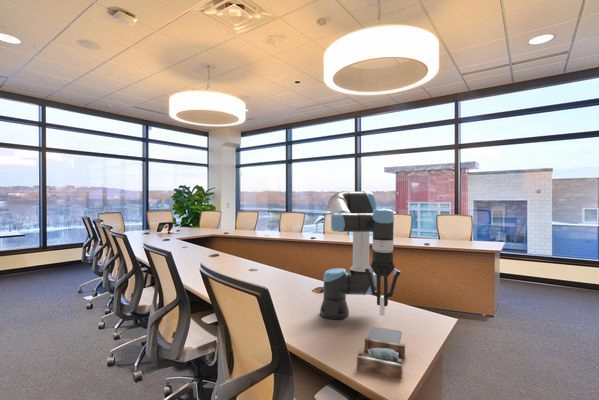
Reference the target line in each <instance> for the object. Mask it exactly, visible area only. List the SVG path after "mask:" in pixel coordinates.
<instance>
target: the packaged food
mask: <svg viewBox="0 0 599 400" xmlns="http://www.w3.org/2000/svg"><path fill="white" fill-rule="evenodd" d="M367 350H368V349H367ZM367 353H368V355H369V358H374V359H379V360H384V361H389V362H394V363H398V359H400V358H399V356H398V355H399V353H397V352H396V351H394V350H393V349H388V348H373V349H369V350H368V352H367ZM402 366H404V364H403V363H402Z"/></svg>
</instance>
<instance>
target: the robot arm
mask: <svg viewBox="0 0 599 400" xmlns="http://www.w3.org/2000/svg"><path fill="white" fill-rule="evenodd" d="M327 203H328V204H327V207H328V211H330V213H332V214H331V216H330V227H331V228H330V230H331V231H332V232H336V233H338V232H339V233H348V232H349V233H351V232H352V265H351V266H350V267H349V271H347V270H346V269H345V268H342V267H341V268H340V267H337V268H329V269H328V270H325V272H324V273H323V279H322V281H323V299H322V302H321V306H320V308H319V309H320V310H319V313H320V316H322V317H324V318H326V319H329V320H331V319H332V320H341V319H346V318H348V317H349V316H350V309H349V306H348V303H347V295H351V296H352V295H356V296H357V295H359V296H360V295H362V296H366V295H367V296H369V295H373V296H376V305H377V306H379V316H383V317H384V316H385V314H386V307H388V304H389V298H390V297H391V298H392V297H393V295H394V293H395V292H394V291H395V287H396V285H397V280H398V278H399V276H400V275H401V270H400V269H397V268H396V267H395V264H394V252H393V250H394V224H395V223H394V222H395V217H394V210H392V209H387V208H386V209H383V208H382V209H379V208H378V209H377V201H376V197H375V195H374V193H373V192H371V191H362V190H361V191H359V190H358V191H354V190H353V191H345V190H343V191H340V192H337V193H335V194H333V195H332V196H331V197H330V198H329V200H328V202H327ZM370 233H372V247H371V248H372V250H373V251H372V254H371V255H372V262H371V264H370ZM391 274H393V278H392V282H391V285H390V286H391V287H390V289H389V276H390V275H391ZM382 277H383V295H382Z"/></svg>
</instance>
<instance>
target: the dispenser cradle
mask: <svg viewBox="0 0 599 400" xmlns="http://www.w3.org/2000/svg"><path fill="white" fill-rule="evenodd" d="M373 348H388V349H393V350H394V351H396V352H397V353H399V355H398V357H400V358H399V359H398V363H394V362H389V361H384V360H379V359H374V358H371V357H370V356H369V357H368V356H363V355H364V354H363V353H364V352H365V353H368V350H369V349H373ZM367 349H368V350H367ZM364 352H363V351H360V350H359V351H358V353H357V357H356V369H357V370H359V371H364V372H367V373H368V372H369V373H373V374H378V375H381V376H386V377H387V376H388V377H391V378H396V379H402V377H403V365H402V364H403V360H406V358H405V357H406V344H405V343H399V344H397V343H392V342H386V341H380V340H375V339H369V338H368V336H365V337H364Z"/></svg>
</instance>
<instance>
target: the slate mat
mask: <svg viewBox="0 0 599 400" xmlns="http://www.w3.org/2000/svg"><path fill="white" fill-rule="evenodd" d="M401 335H402V330H398V329H390V328H383V327H379V326H372V327H371V328H370V331H369V333H368V336H367V337H368V338H369V339H375V340H380V341H386V342H392V343H397V344H400V341H401V337H402V336H401Z"/></svg>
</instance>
